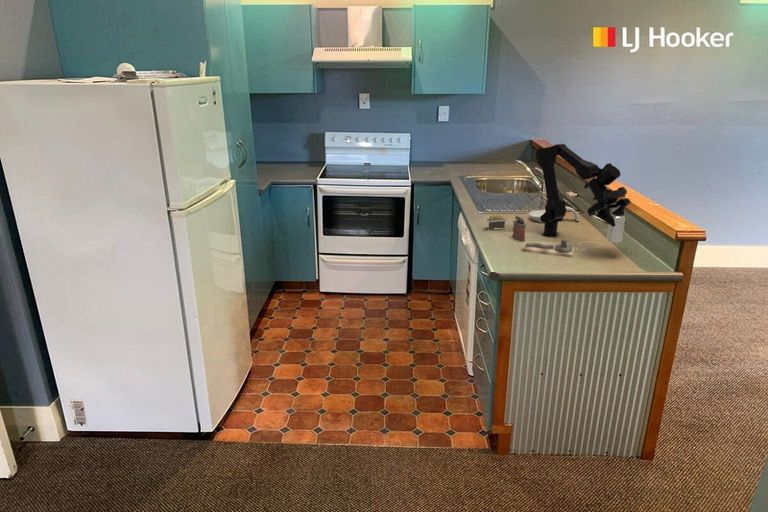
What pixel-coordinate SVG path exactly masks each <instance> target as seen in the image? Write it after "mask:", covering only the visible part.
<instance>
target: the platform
mask: <svg viewBox="0 0 768 512" xmlns="http://www.w3.org/2000/svg"><path fill="white" fill-rule="evenodd" d="M507 221H508V219H507V218H504V217H503V216H501V214H500V215H489V218H487V219H486V222H487V223H488V229H494V228H504V229H505V223H506V222H507Z"/></svg>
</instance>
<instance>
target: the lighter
mask: <svg viewBox="0 0 768 512" xmlns="http://www.w3.org/2000/svg"><path fill="white" fill-rule="evenodd" d="M514 218H515V220H513V222H512V223H513V227H512V236H511V237H512V238H513V239H514V240H515V241H518V242H521V243H523V242H524V243H525V242H526V239H525V237H526V227H527V224H526V223H525V218H523V216H519V215H515V217H514Z"/></svg>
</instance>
